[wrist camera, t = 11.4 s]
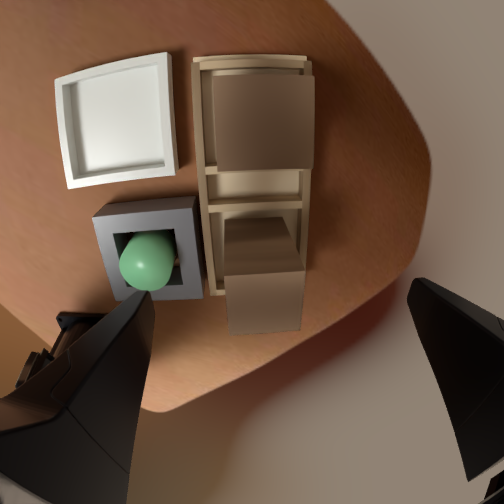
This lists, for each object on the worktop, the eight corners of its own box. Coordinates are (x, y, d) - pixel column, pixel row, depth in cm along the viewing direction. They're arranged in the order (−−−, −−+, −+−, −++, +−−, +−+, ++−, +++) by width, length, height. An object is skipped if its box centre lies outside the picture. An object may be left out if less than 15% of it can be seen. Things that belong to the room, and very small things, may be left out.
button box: (124, 283, 23) (115, 301, 21) (104, 204, 20) (92, 217, 18) (205, 279, 24) (203, 298, 22) (195, 195, 20) (191, 208, 18)
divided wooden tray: (212, 284, 24) (211, 301, 22) (194, 59, 16) (190, 54, 14) (297, 278, 25) (303, 294, 23) (302, 58, 16) (311, 53, 14)
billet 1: (221, 146, 18) (217, 171, 12) (218, 85, 16) (212, 75, 10) (284, 144, 18) (313, 168, 12) (283, 84, 16) (314, 75, 10)
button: (136, 269, 22) (126, 291, 20) (126, 227, 20) (113, 246, 18) (180, 266, 22) (174, 290, 20) (173, 223, 21) (165, 242, 18)
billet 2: (224, 219, 20) (223, 276, 14) (282, 216, 21) (305, 270, 15) (227, 269, 22) (229, 335, 16) (281, 266, 23) (300, 330, 16)
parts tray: (77, 182, 19) (68, 189, 18) (65, 79, 15) (54, 79, 14) (179, 169, 19) (174, 175, 18) (171, 55, 16) (166, 52, 14)
